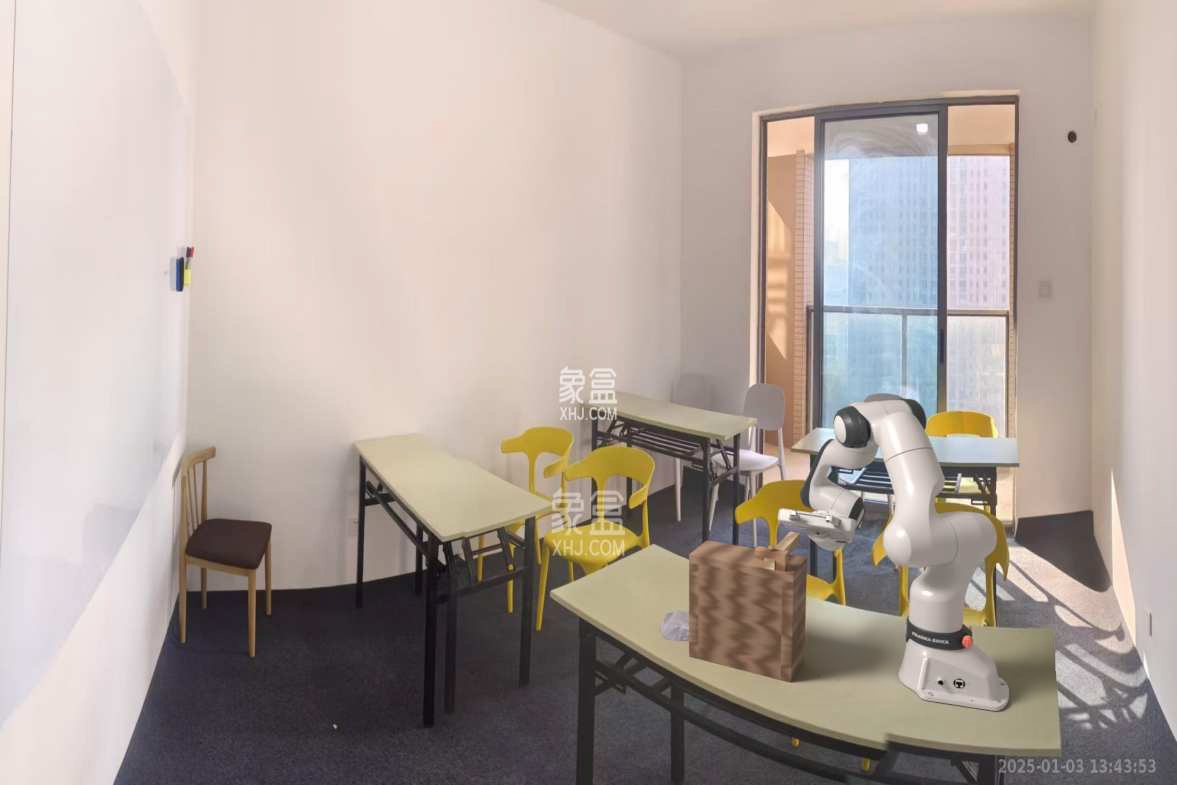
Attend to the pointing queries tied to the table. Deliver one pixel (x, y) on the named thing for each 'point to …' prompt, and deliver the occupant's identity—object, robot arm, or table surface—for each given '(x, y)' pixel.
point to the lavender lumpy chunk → (676, 626)
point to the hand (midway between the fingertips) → (810, 515)
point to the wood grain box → (746, 611)
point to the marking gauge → (777, 553)
